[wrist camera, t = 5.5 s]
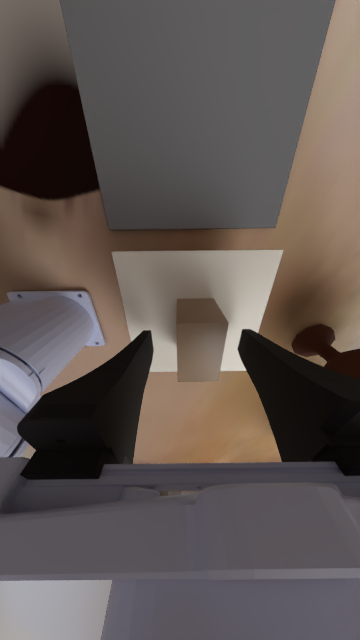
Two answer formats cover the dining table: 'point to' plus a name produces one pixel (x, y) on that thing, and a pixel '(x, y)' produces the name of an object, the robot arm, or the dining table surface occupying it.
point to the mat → (194, 105)
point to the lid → (195, 305)
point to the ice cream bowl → (327, 350)
